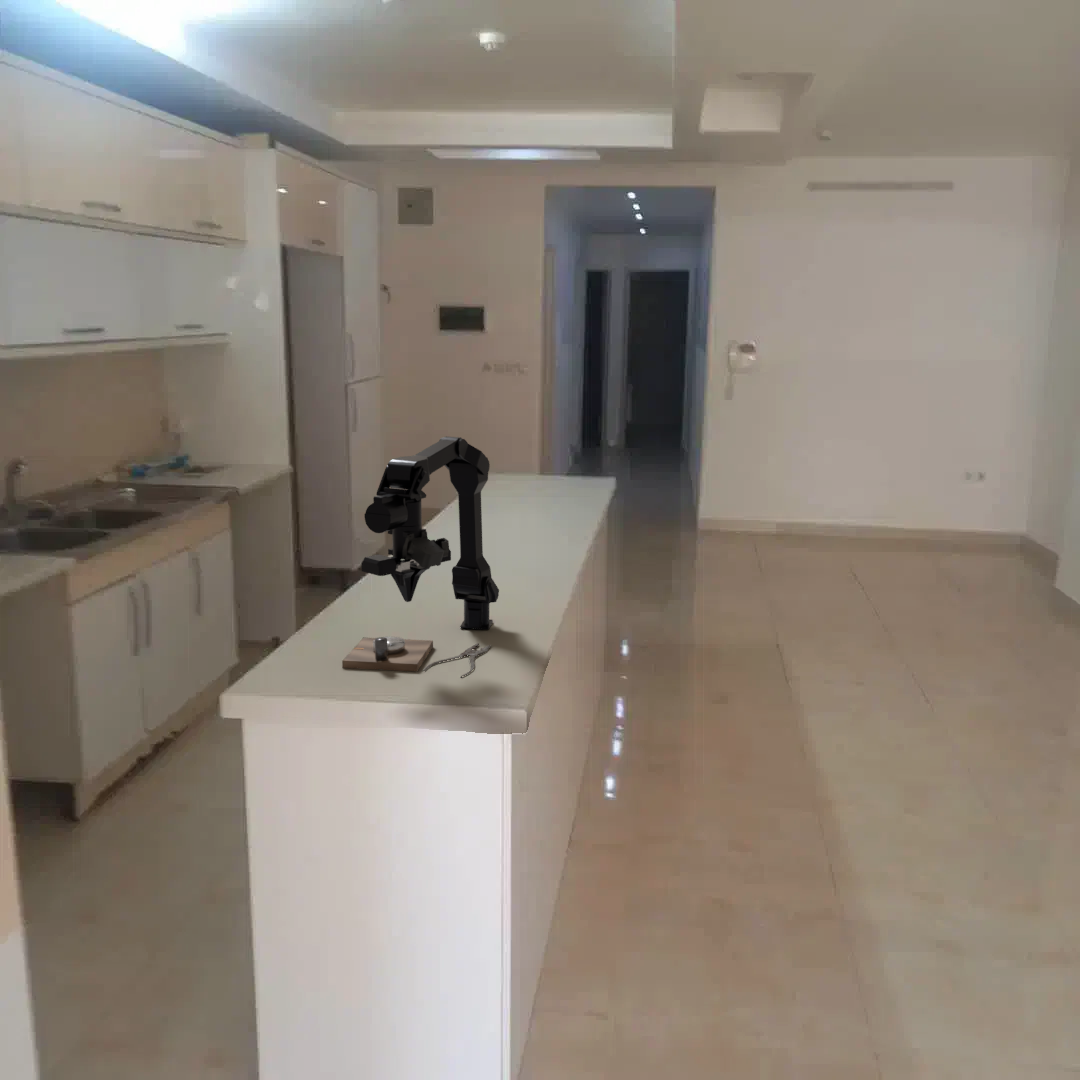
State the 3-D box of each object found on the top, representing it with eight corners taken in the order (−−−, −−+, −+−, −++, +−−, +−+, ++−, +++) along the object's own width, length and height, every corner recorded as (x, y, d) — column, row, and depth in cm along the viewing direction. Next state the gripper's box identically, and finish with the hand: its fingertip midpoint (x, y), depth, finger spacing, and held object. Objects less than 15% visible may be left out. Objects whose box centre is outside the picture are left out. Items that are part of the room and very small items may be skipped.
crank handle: (377, 643, 210) (377, 624, 209) (408, 644, 209) (407, 626, 208) (363, 659, 199) (363, 640, 199) (395, 661, 199) (395, 641, 198)
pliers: (419, 672, 197) (447, 640, 216) (419, 676, 197) (447, 644, 216) (467, 676, 195) (491, 644, 214) (467, 680, 195) (491, 647, 214)
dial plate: (363, 644, 215) (363, 637, 214) (433, 647, 213) (432, 640, 213) (342, 667, 200) (342, 660, 200) (417, 671, 198) (416, 663, 198)
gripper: (397, 537, 185) (399, 619, 188) (470, 522, 198) (470, 599, 202) (358, 528, 192) (360, 607, 195) (431, 515, 205) (432, 589, 209)
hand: (408, 601), depth 200 cm, fingers closed
